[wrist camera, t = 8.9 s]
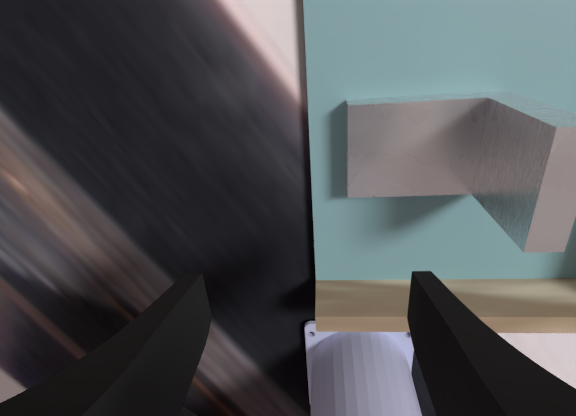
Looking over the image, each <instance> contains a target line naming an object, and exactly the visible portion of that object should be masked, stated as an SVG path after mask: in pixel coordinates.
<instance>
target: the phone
mask: <svg viewBox="0 0 576 416" xmlns="http://www.w3.org/2000/svg"><path fill="white" fill-rule="evenodd" d="M179 416H198V415H197V414H195V413H193V412H192V411H190V410H189V409H187V408H185V407H184V406H182V409H181V412H180V415H179Z"/></svg>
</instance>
